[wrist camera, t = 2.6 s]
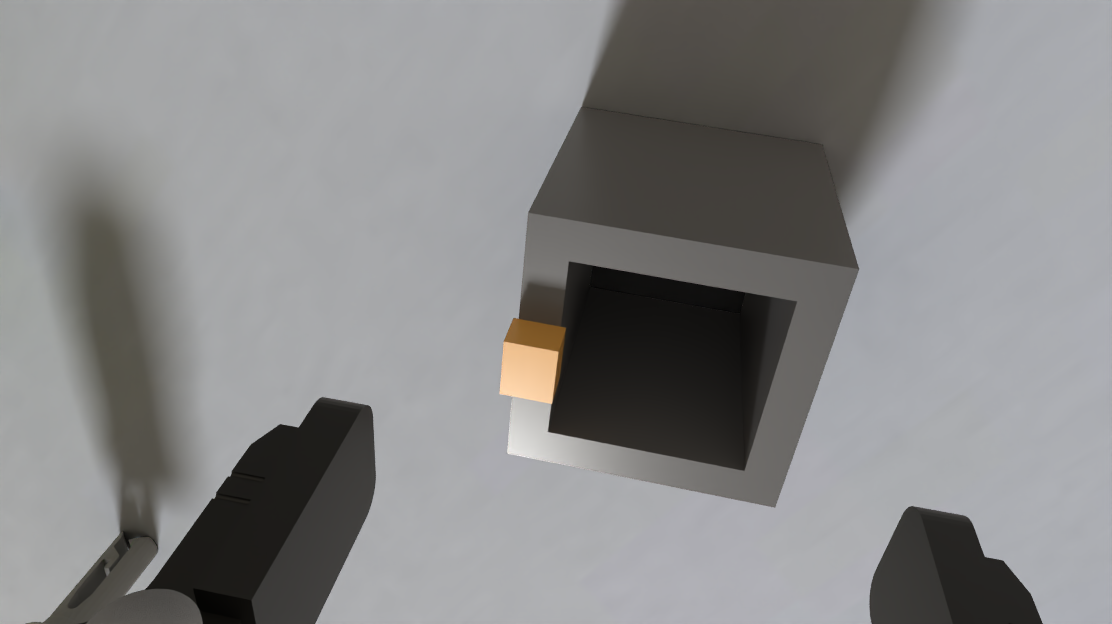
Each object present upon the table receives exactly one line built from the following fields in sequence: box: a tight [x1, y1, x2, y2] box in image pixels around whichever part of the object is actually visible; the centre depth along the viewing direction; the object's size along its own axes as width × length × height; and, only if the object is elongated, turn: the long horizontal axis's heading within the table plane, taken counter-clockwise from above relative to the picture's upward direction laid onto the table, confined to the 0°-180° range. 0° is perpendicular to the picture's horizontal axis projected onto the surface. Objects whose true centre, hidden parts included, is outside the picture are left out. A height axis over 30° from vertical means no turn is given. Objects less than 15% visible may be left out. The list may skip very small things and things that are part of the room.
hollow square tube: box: [500, 107, 859, 507], centre depth 17 cm, size 6×6×7 cm
